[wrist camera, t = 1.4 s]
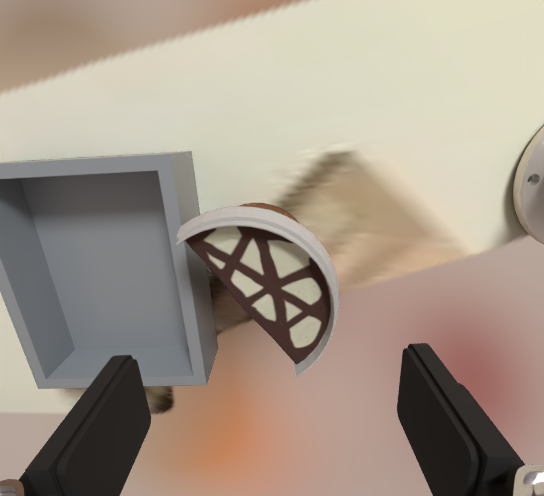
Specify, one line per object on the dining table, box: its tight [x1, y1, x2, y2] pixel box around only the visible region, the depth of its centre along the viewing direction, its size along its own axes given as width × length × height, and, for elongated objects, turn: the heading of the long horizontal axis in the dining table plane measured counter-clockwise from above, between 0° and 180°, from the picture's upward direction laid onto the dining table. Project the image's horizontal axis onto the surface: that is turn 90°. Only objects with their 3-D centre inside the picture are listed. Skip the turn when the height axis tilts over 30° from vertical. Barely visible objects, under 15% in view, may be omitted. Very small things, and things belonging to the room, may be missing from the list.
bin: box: [0, 151, 218, 389], centre depth 26 cm, size 15×19×5 cm
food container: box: [176, 203, 339, 377], centre depth 22 cm, size 12×6×10 cm, turn 38°
